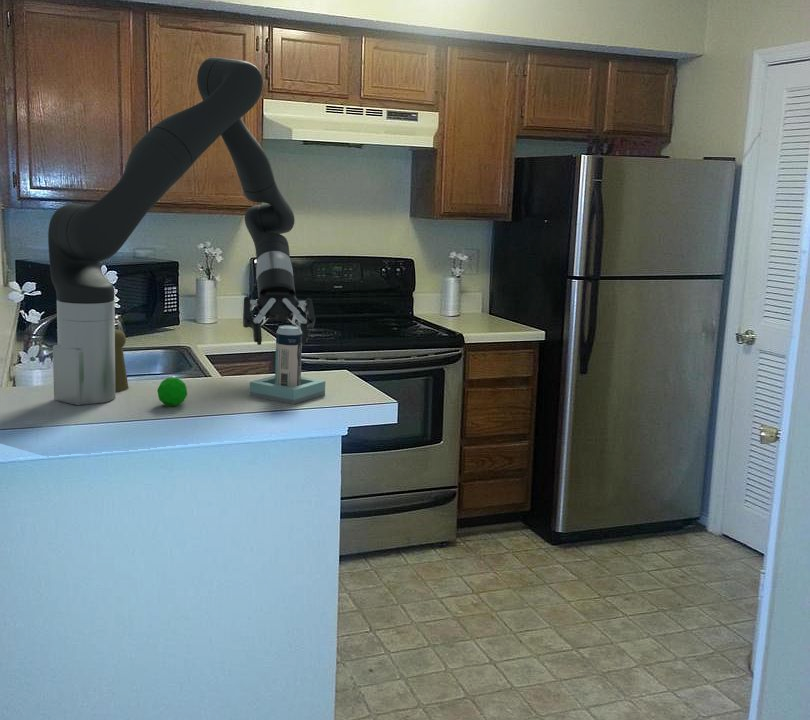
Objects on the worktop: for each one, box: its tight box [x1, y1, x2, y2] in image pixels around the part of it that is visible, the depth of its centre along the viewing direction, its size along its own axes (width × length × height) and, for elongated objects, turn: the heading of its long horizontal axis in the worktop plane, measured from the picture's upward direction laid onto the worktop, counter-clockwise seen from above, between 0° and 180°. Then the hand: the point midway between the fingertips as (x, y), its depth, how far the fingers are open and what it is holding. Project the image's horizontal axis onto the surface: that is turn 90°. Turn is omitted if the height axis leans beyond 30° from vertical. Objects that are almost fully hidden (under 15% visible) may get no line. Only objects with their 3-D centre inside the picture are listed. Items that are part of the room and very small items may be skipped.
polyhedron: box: [157, 376, 188, 407], centre depth 143 cm, size 5×5×5 cm
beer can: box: [274, 324, 303, 387], centre depth 154 cm, size 5×5×12 cm
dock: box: [248, 375, 326, 405], centre depth 155 cm, size 10×10×3 cm
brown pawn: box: [115, 328, 129, 393], centre depth 152 cm, size 6×6×11 cm
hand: (281, 342), depth 164 cm, fingers open, 8 cm apart
